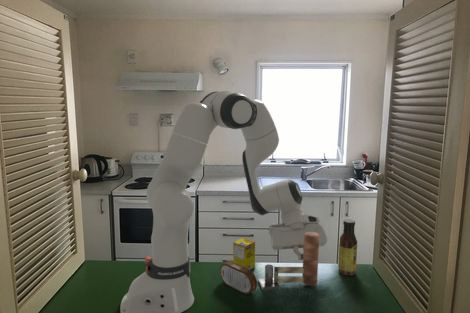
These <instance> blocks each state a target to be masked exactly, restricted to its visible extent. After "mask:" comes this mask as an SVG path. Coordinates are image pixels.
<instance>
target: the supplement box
mask: <svg viewBox="0 0 470 313" xmlns="http://www.w3.org/2000/svg"><path fill="white" fill-rule="evenodd" d="M232 245H233V247H232V248H233V249H232V250H233V255H232V256H233V262H235V263H237V264H239V265H241V266H243V267H246V268H248V269H249V270H251V271H253V270H255V269H256V241H254V240H251V239H248V238H245V237H242V238H239V239H237V240H236V241H235V240H234V242H233V244H232Z"/></svg>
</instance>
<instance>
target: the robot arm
mask: <svg viewBox="0 0 470 313" xmlns="http://www.w3.org/2000/svg"><path fill="white" fill-rule="evenodd" d="M218 126H219V127H221V128H226V129H232V130H239V129H240V130H241V132H242V135H243V137H244V140H245V149H244V151H243V152H242V155H241V156H242V159H241V160H242V167H243V171H244V175H245V179H246V180H245V181H246V185H247V189H248V194H249V204H250V206H251V210H252V211H253V212H254V213H256V214H258V215H260V216H264V215H267V214H271V213H272V212H275V211H278V210H280V218H281V222H282V223H277V224H276V223H272V224H271V225H269V227H268V229H267V230H268V234H269V236H270V246H271V249H273V250H274V251H277V250H278V251H280V250H290V249H291V250H293V253H294V254H295V255H296V256H297V259H298V261H303V253H301V252H300V251H299V249H302V250H303V249H304V233H306V232H315V233H318V234H319V247H324V246H325V245H326V244H327V242H328V238H327V234H326V232H325V230H324V227H323V225H322V224H320V218H319V217H317V216H314V215H309V214H306V213H305V212H304V209H303V207H302V201H303V196H302V193H301V188H300V185H299V183H297V182H296V181H294V180H292V179H284V180H280V181H277V182H274V183H272V184H268V185H264V186H261V185H260V184H259V179H258V174H257V173H258V172H257V168H258V167H259V166H260V165H261V164H262V163H263V162H264V161H265V160H267V159H268V158H269V157H271V156H272V155H273V154H274V152H275V151H276V150H277V148H278V146H279V143H280V142H279V141H280V137H279V134H278V129H277V126H276V124H275V122H274V120H273V117H272V115H271V113H270V111H269V109H268V108H267V106H266V105H265V104H264V102H263V101H262V100H259V99H250V98H249V97H248V96H247V95H244V94H242V93H239V92H232V91H228V90H227V91H226V90H225V91H224V90H222V91H212V92H210V93H208V94H206V95H205V96H204V97H203V98H202V100H200V101H199V102H197V101H193V102H188V103H186V105H185V106H184V107H183V108H182V111H180V114H179V115H178V118H177V120H176V122H175V124H174V127H173V129H172V132H171V134H170V138H169V140H168V144H167V146H166V149H165V152H164V155H163V157H162V158H161V161H160V163H159V165H158V167H157V169H156V171H155V173H154V175H153V176H152V179H151V181H150V182H149V183H148V185H147V188H146V201H147V203H148V205H149V206H150V207H151V210H152V216H153V218H152V219H153V220H152V221H153V222H152V232H151V233H152V234H151V236H150V240H151V242H150V243H151V256H149V255H148V256H146V257H145V258H144V263H145V266H144V268H145V271H144V272H143V273H141V274H140V275H139V276H137V277H136V278H134V280H132V282H131V284H130V286H129V289H128V292H127V293H126V294H125V295H124V296H123V298H122V299H121V301H120V306H119V307H120V308H119V311H120V312H119V313H184V312H185V311H187V310H188V309H189V308H191V307H192V306H193V305H194V301H195V296H194V294H193V291H192V286H191V281H190V280H191V279H190V276H191V261H190V256H189V247H188V246H189V239H188V238H189V228H190V222H191V218H192V216H193V213H194V207H195V206H194V202H193V199H192V196H191V194H190V193H189V191H188V190H186V189H187V187H188V184H189V182H190V181H191V179H192V178H193V176H194V175H195V173H196V172H197V171H198V170H199V168H200V166H201V163H202V161H203V157H204V155H205V151H206V149H207V147H208V143H209V140H210V136H211V134H212V132H213V131H214V130H215V129H216V127H218Z"/></svg>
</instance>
